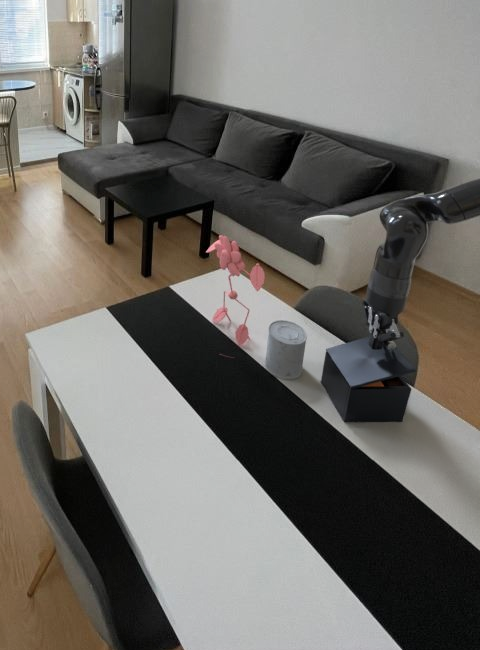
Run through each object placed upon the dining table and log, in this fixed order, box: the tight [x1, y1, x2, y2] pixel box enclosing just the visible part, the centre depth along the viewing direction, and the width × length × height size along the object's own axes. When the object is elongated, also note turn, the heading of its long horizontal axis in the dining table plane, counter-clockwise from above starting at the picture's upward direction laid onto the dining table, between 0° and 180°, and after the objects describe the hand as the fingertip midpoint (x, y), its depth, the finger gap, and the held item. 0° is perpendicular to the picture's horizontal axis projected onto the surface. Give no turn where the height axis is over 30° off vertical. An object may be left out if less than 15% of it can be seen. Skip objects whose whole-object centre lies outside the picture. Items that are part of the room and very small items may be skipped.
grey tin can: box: [264, 319, 308, 380], centre depth 119 cm, size 10×10×12 cm
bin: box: [320, 351, 412, 424], centre depth 107 cm, size 14×12×11 cm
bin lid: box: [325, 335, 417, 389], centre depth 104 cm, size 14×12×6 cm
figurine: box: [205, 234, 266, 359], centre depth 128 cm, size 15×26×35 cm, turn 19°
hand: (374, 347), depth 103 cm, fingers closed
